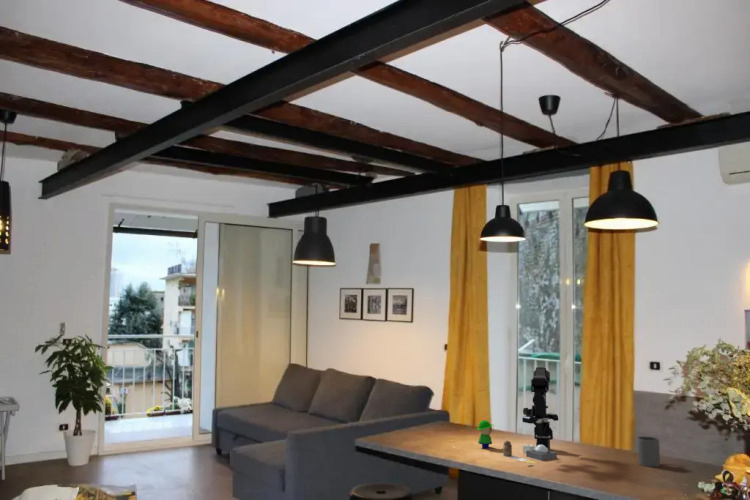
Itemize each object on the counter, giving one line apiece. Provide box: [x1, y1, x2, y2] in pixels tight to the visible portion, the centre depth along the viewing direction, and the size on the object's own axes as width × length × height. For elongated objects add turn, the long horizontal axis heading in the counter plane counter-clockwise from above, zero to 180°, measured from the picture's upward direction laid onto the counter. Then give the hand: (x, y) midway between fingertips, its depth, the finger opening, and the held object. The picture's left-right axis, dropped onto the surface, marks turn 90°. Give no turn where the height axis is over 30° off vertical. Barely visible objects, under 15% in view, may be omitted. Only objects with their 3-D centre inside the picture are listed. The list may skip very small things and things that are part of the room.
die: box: [522, 443, 535, 455], centre depth 310 cm, size 4×4×4 cm
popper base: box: [525, 449, 558, 462], centre depth 301 cm, size 10×10×3 cm
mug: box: [637, 436, 661, 468], centre depth 293 cm, size 14×9×12 cm
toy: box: [476, 420, 495, 450], centre depth 323 cm, size 9×9×15 cm
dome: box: [534, 445, 548, 454], centre depth 301 cm, size 6×6×5 cm
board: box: [501, 454, 537, 468], centre depth 301 cm, size 20×22×1 cm
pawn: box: [502, 440, 513, 457], centre depth 304 cm, size 4×4×7 cm
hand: (540, 436), depth 301 cm, fingers closed
